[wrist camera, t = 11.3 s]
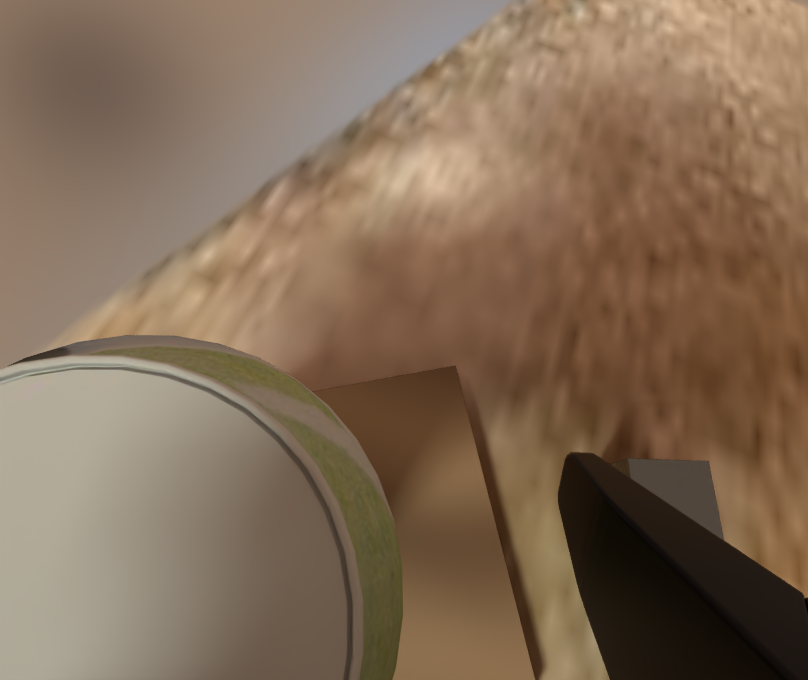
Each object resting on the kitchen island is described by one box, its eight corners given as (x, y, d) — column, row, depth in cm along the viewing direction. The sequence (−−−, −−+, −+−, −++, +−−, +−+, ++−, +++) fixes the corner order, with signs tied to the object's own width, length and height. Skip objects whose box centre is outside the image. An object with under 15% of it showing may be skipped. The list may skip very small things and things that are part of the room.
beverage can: (247, 391, 17) (-30, 100, 5) (433, 521, 15) (566, 489, 4) (107, 563, 15) (-784, 658, 3) (308, 730, 13) (-69, 1710, 2)
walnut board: (532, 695, 15) (541, 703, 14) (178, 788, 13) (166, 803, 13) (452, 372, 18) (455, 365, 17) (166, 425, 17) (156, 419, 16)
